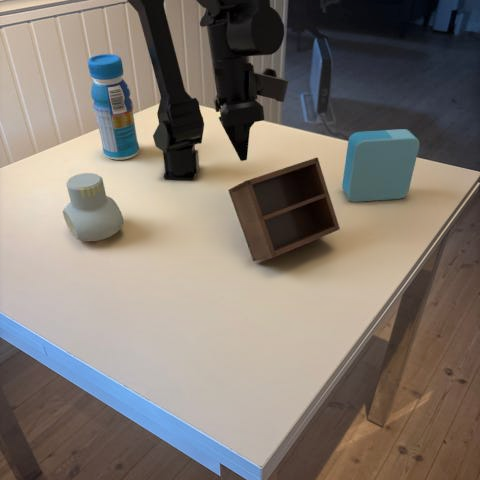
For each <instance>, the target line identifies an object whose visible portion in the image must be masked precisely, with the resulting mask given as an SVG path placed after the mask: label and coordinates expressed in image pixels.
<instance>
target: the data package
mask: <svg viewBox="0 0 480 480" xmlns="http://www.w3.org/2000/svg"><path fill="white" fill-rule="evenodd" d="M419 150H420V141H419V139H418V138H417V137H416V136H415V135H414V134H413V133H412V132H411V131H410V130H409V129H406V128H403V129H401V128H398V129H383V130H382V129H381V130H368V131H367V130H365V131H356V132H354V133H352V134H351V135H350V136H349V138H348V141H347V147H346V154H345V162H344V170H343V178H342V185H341V187H342V190H343V192H344V193H345V195H346V196H347V198H348V200H349V201H350V202H353V203H359V202H374V201H388V200H390V201H391V200H400V199H403V198H405V197H406V196H407V195H408V194H409V192H410V187H411V182H412V179H413V175H414V170H415V166H416V161H417V158H418V153H419Z"/></svg>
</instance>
